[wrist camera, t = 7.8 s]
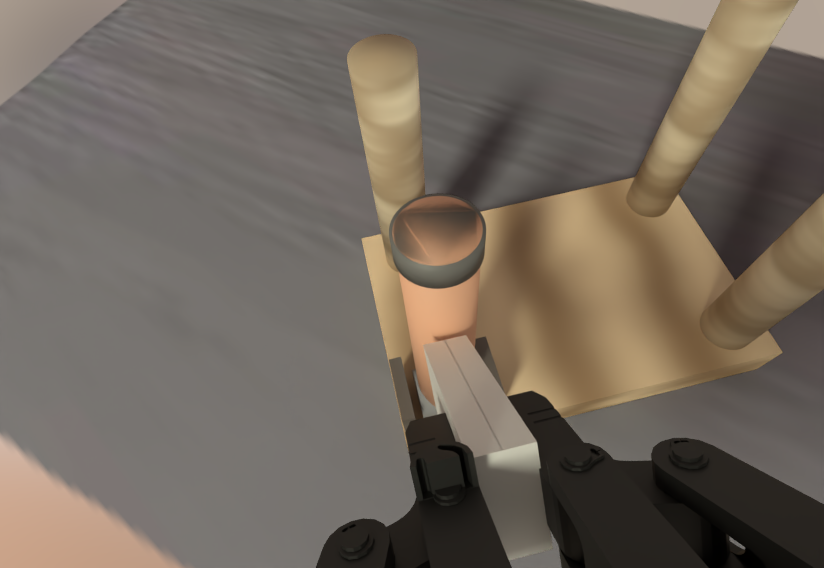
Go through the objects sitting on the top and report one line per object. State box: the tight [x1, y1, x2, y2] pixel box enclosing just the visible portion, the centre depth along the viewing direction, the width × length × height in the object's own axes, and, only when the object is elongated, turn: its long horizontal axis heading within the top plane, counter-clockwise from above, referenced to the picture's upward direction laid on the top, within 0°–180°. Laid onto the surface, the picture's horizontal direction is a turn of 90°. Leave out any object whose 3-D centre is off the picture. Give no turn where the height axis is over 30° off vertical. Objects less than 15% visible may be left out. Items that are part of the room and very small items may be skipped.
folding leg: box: [389, 194, 486, 418], centre depth 20 cm, size 3×3×13 cm
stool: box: [347, 0, 824, 451], centre depth 23 cm, size 20×13×16 cm, turn 103°
